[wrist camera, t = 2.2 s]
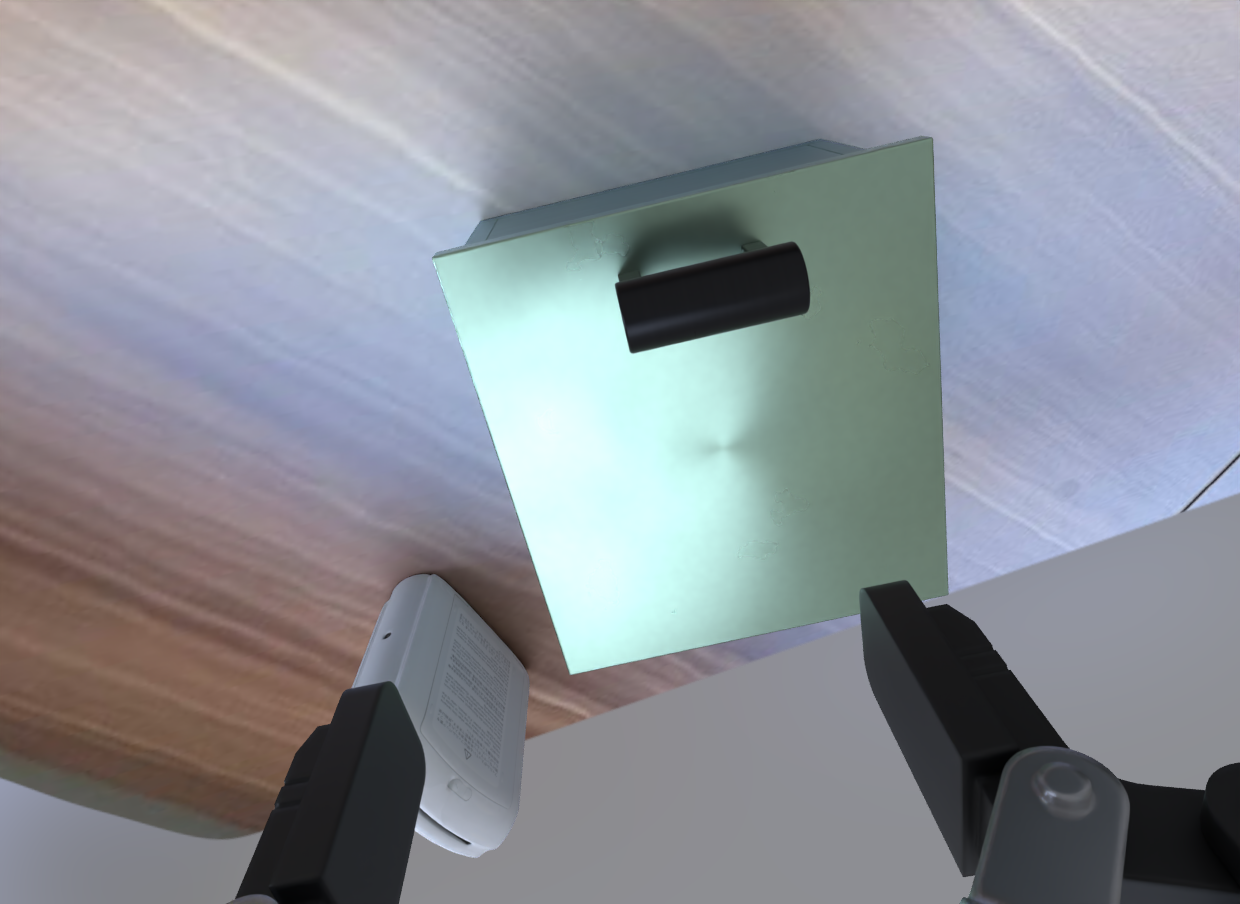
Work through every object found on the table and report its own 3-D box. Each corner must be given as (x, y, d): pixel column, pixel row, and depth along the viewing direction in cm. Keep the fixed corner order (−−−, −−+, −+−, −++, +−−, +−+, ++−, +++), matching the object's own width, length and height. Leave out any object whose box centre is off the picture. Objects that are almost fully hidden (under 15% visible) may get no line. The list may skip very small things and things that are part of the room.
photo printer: (372, 594, 43) (304, 772, 32) (432, 557, 42) (382, 727, 31) (484, 704, 47) (457, 896, 36) (540, 673, 46) (530, 859, 35)
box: (479, 221, 35) (443, 275, 25) (821, 138, 34) (923, 161, 24) (570, 526, 42) (569, 662, 32) (852, 464, 41) (940, 583, 32)
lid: (435, 251, 24) (399, 296, 19) (923, 135, 24) (1017, 149, 19) (569, 663, 32) (569, 770, 27) (940, 583, 31) (1010, 679, 26)
